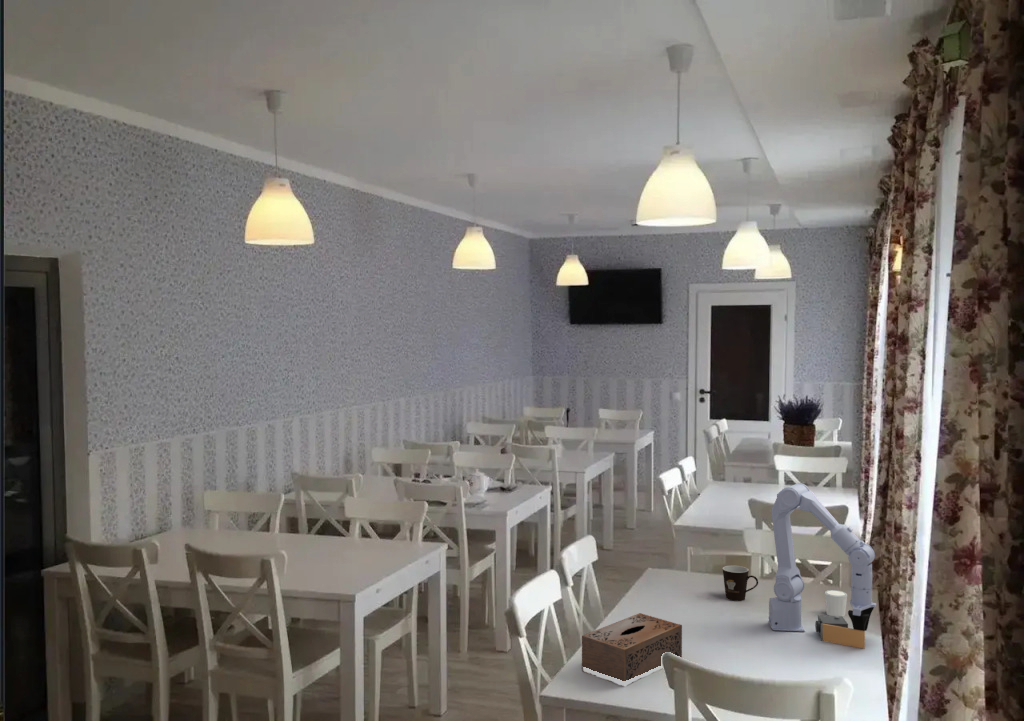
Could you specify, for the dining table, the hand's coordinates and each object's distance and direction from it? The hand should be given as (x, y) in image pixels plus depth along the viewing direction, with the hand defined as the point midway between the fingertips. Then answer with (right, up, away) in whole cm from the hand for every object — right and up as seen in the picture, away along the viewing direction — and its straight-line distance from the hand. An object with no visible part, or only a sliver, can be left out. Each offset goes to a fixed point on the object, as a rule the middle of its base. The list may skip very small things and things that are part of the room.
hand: (860, 633), depth 254 cm
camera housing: (-6, -3, +6) cm, 9 cm away
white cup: (+2, -2, +25) cm, 25 cm away
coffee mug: (-25, -2, +41) cm, 48 cm away
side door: (-6, -3, -1) cm, 7 cm away
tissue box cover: (-69, -4, -16) cm, 71 cm away
